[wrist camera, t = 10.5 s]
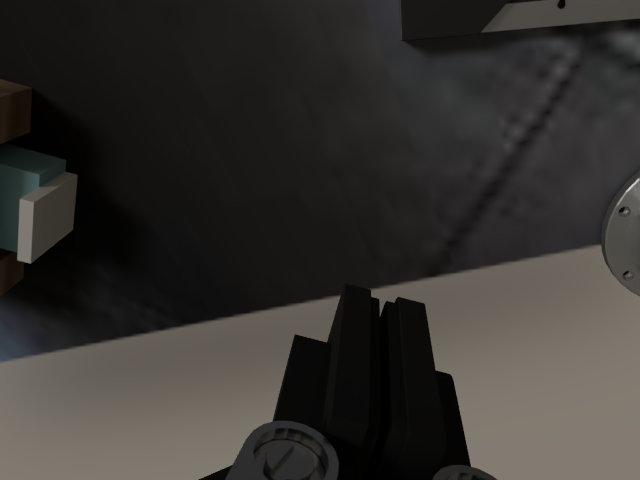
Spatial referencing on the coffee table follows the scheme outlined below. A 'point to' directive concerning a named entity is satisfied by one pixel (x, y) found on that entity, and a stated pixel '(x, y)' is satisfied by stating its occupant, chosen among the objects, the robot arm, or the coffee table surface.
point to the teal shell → (34, 201)
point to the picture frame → (504, 15)
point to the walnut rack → (4, 125)
